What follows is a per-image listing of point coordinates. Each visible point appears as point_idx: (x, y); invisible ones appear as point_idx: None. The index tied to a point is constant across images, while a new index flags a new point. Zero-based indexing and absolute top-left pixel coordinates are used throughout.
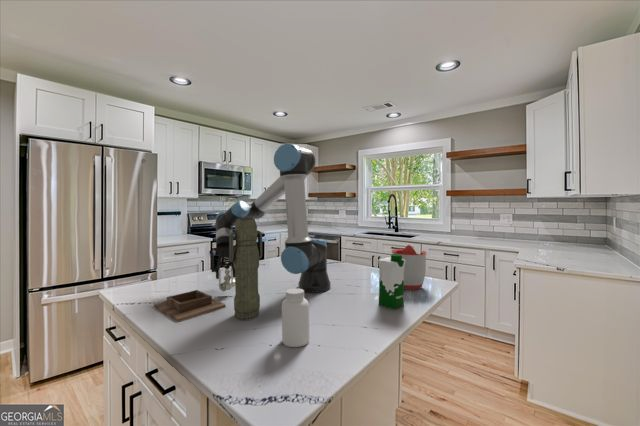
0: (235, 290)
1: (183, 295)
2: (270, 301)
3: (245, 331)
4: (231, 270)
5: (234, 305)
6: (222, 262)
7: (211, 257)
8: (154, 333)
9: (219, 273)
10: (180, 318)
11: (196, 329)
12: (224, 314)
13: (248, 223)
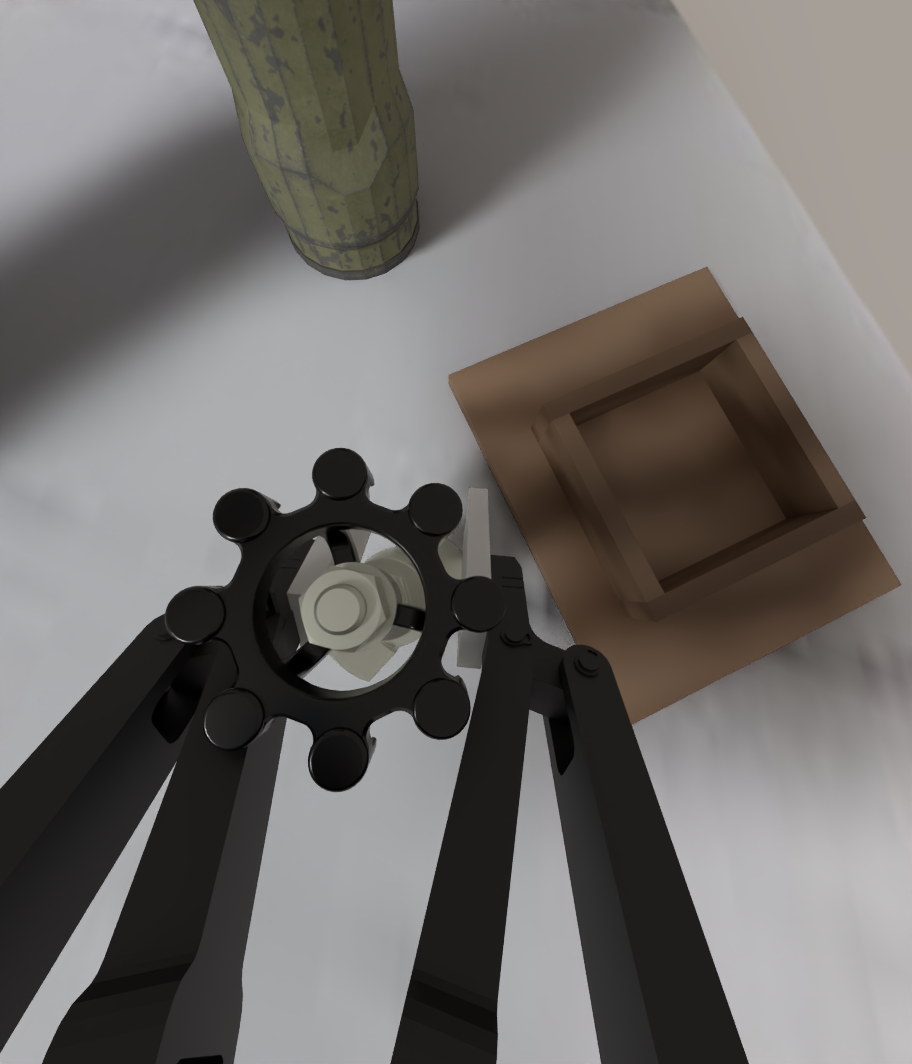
0: (393, 19)
1: (743, 552)
2: (166, 370)
3: (400, 66)
4: (313, 572)
5: (415, 146)
6: (426, 653)
7: (715, 1013)
8: (778, 198)
9: (481, 567)
10: (693, 273)
11: (603, 165)
12: (466, 282)
13: None
